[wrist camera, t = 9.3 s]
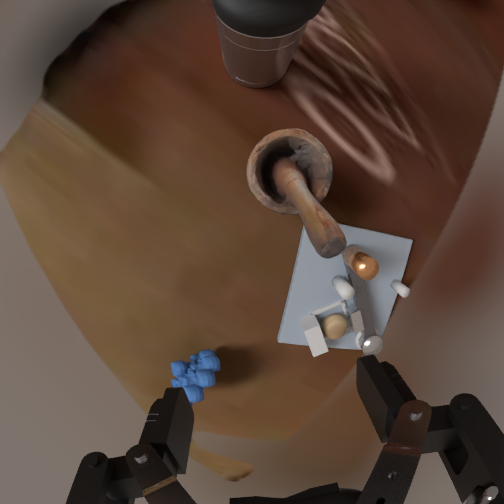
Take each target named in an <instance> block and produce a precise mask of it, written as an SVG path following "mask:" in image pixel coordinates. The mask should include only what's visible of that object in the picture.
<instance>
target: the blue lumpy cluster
mask: <svg viewBox="0 0 504 504" xmlns="http://www.w3.org/2000/svg"><path fill="white" fill-rule="evenodd" d="M190 359H191V361H190V362H187V363H186V362H184V361H175V362H171V369H172V373H173V375H174V376H176V377H177V378H176V379H172V386H173V387H183V388H184V390H185V392H186V395H187V397H188V400H189V402H190V404H191V406H192V402H199V401H202V400H204V392H203V389H202V388H207V387H211V386H214V385H215V384H216V378H215V374H214V373H213V372H217V371H219V370H220V360H219V358H218V357H217V356H216V354H215V352H214V351H213V350H210V349H208V350H203V351H200V352H199V354H194V355H191V357H190Z"/></svg>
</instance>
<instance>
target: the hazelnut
mask: <svg viewBox="0 0 504 504" xmlns="http://www.w3.org/2000/svg"><path fill="white" fill-rule="evenodd" d="M321 328H322V332H323V334H324V335H325V336H326V337H327V338H329V339H333V340H335V339H339V338H341V337H342V336H343V335H344V334H345V333H346V331H347V322H346V320H345V318H344V317H343V316H341V315H339V314H330V315H328V316H327V317H326V318H325V319H324V320H323V322H322V326H321Z"/></svg>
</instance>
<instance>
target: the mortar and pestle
mask: <svg viewBox="0 0 504 504" xmlns="http://www.w3.org/2000/svg"><path fill="white" fill-rule="evenodd" d="M246 174H247V181H248V185H249V188H250V190H251V192H252V194H253V195H254V196H255V197H256V198H257V200H258V201H259V202H260V203H261V204H262V205H264V206H265V207H267V208H269V209H271V210H273V211H275V212H278V213H281V214H290V215H292V214H299V215H300V217H301V218H302V221H303V225H304V227H305V230H306V233H307V235H308V238H309V240H310V242H311V244H312V245H313V247H314V248H315V251H316V252H317V253H318V254H319V255H320V256H321V257H322V258H326V259H329V258H333V257H335V256H338V255H339V254H340V253H342V252H343V250H344V249H345V248H346V244H347V241H346V238H345V235H344V233H343V231H342V230H341V228H340V226H339V225H338V224H337V222H336V221H335V220H334V219H333V218H332V216H331V215H330V214H329V213H328V212H327V211H326V210H325V209H324V208H323V207H322V206H321V205H320V202H321V201H322V200H323V199H324V198H325V197H326V195H327V193H328V191H329V189H330V185H331V182H332V178H333V169H332V161H331V158H330V155H329V153H328V152H327V150H326V148H325V147H324V146H323V144H322V143H321V142H320V141H319V140H318V139H316V138H315V137H314V136H312V135H311V134H309V133H307V132H306V131H305V130H301V129H284V130H278V131H274V132H272V133H271V134H269V135H267V136H265V137H264V138H263V139H261V140H260V141H259V142H258V143H257V145H256V146H255V147H254V149H253V151H252V152H251V154H250V157H249V159H248V162H247V169H246Z"/></svg>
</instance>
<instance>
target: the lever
mask: <svg viewBox="0 0 504 504" xmlns="http://www.w3.org/2000/svg"><path fill="white" fill-rule="evenodd" d="M342 257H343V261H344V264H345V268H346V272H347V276H348V280H349V284H350V285H351V286H352V287H353V288H354V290H355V294H354V296H353V300H354V303H352V304H350V305H347V306H345V310H346V314H347V318H348V322H349V325H350V327H351V328H352V330H353V331H354V333H358V332H360V331H361V336H360V338H359V346H360V347H361V349H362V351H363V352H364V354H365V355H370V354H374V355H376V354H378V353H379V352H380V351H381V350H382V348H383V340H382V339H381V338H380V336H379V335H378V334H377V333H376V331H375V325H374V320H373V315H372V310H371V305H370V300H369V296H368V291H367V287H366V282H365V280H371V279H373V278H375V277H376V275H377V274H378V272H379V264H378V262H377V261H376V260H375V259H373V258H372V257H371V256H369V255H368V254H366V253H365V252H363V251H362V250H361V249H359V248H358V247H356V246H355V245H353V244H351V245H348V246H346V248H345V249H344V250H343V252H342Z"/></svg>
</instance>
